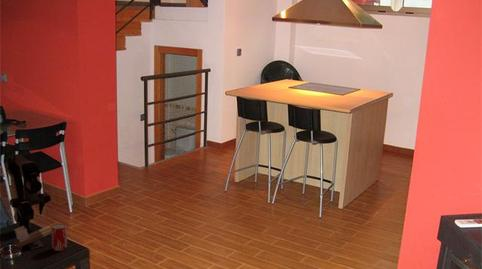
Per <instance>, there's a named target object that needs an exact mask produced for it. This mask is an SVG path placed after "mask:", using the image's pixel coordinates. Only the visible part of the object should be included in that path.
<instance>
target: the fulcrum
mask: <svg viewBox="0 0 482 269" xmlns="http://www.w3.org/2000/svg"><path fill="white" fill-rule="evenodd" d="M26 245H27V246H28V247H29V249H30V250H35V249H40V248H43V247H44V246H45V245H44V244H43V242H42V241H41V240H40V239H37V240H35V241H33V242H30V243H28V244H26Z"/></svg>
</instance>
